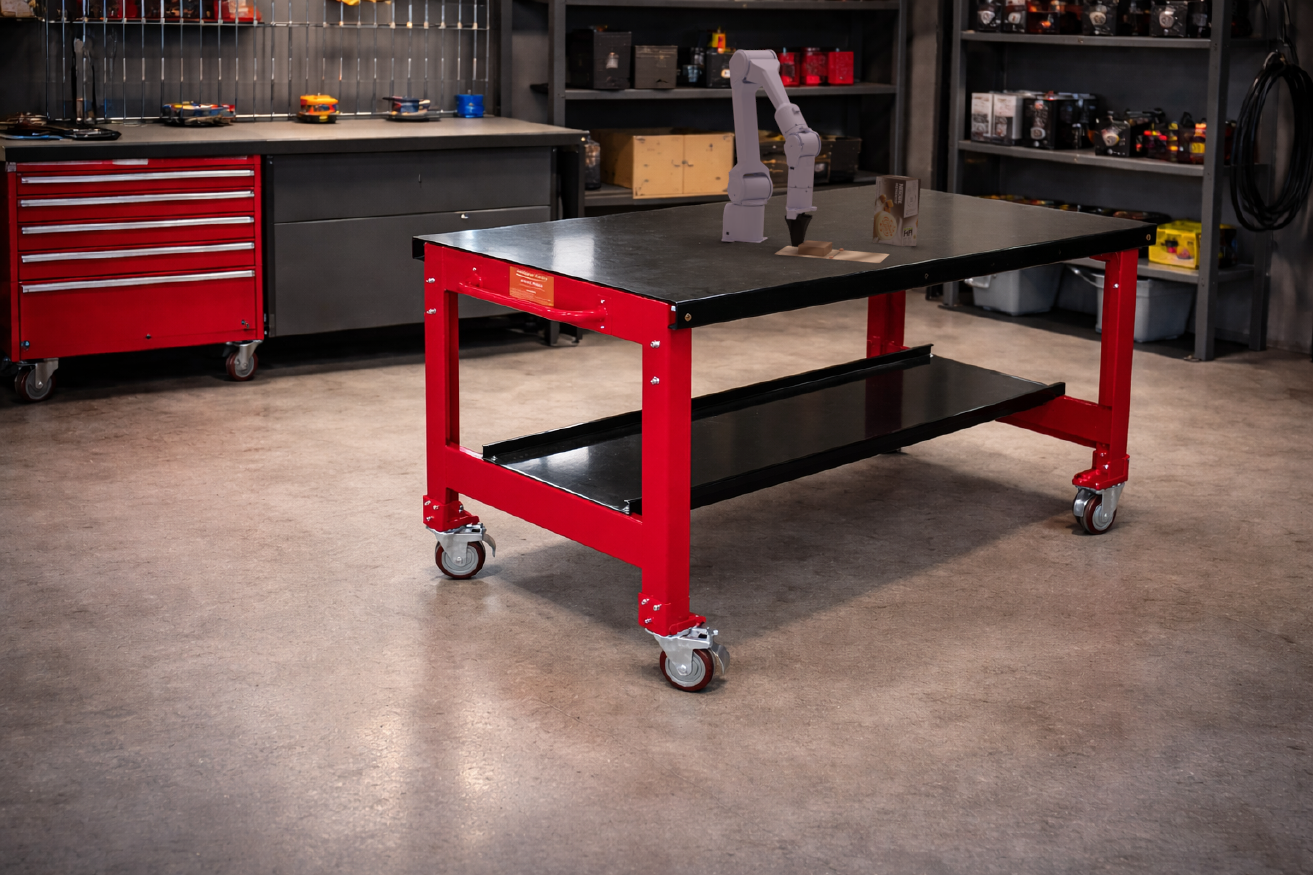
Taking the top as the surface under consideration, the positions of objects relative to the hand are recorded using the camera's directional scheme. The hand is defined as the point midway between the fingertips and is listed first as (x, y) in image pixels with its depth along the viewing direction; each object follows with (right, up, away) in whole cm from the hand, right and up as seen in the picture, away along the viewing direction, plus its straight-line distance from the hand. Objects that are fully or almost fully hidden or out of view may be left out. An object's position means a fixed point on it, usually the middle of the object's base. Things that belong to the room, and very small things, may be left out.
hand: (796, 246), depth 311 cm
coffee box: (+25, +2, +16) cm, 29 cm away
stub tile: (+4, -1, -1) cm, 4 cm away
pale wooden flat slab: (+8, -3, -2) cm, 8 cm away
